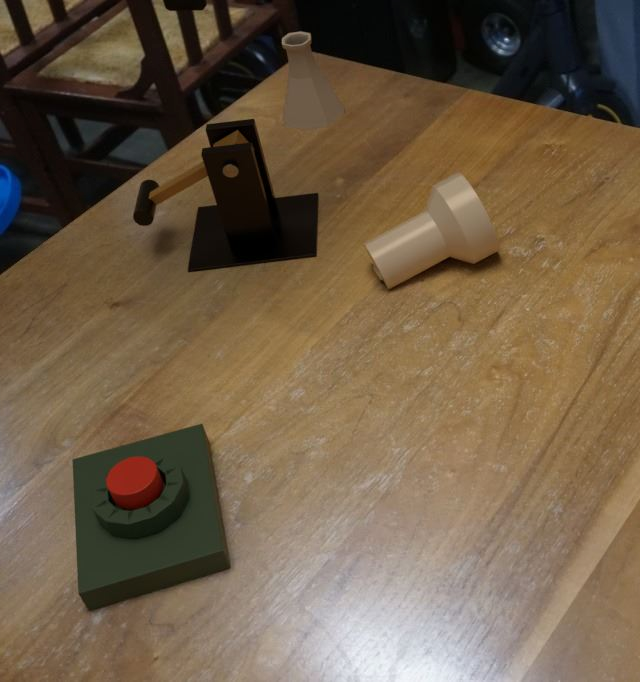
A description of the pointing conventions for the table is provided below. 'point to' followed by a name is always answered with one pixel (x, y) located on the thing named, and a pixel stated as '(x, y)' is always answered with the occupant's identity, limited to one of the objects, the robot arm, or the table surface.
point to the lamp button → (134, 483)
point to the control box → (148, 521)
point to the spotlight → (435, 234)
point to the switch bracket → (248, 208)
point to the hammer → (173, 185)
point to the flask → (307, 88)
